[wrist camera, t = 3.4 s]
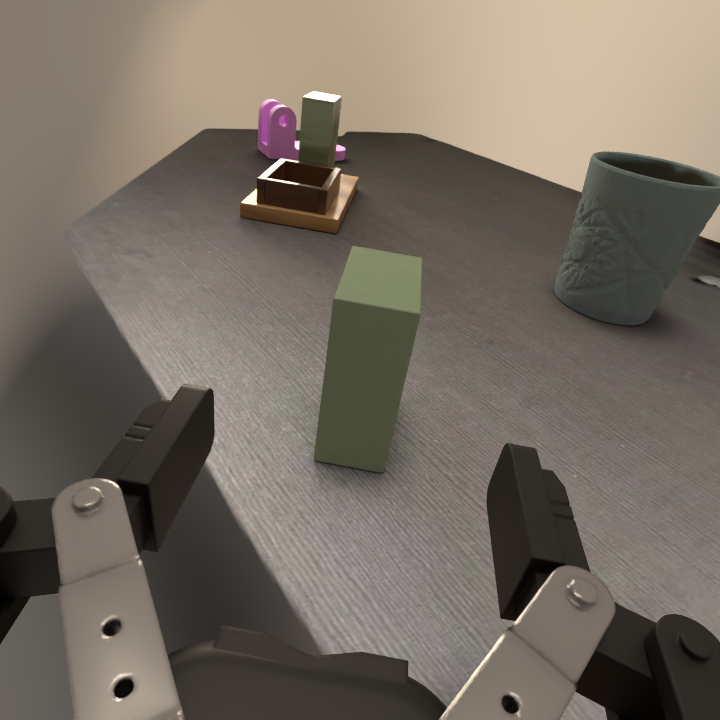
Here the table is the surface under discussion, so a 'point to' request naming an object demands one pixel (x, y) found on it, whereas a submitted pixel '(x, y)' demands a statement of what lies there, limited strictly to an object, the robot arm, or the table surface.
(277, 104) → the bracket
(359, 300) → the green rectangular block
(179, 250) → the table surface
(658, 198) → the grey green embossed cup
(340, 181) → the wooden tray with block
